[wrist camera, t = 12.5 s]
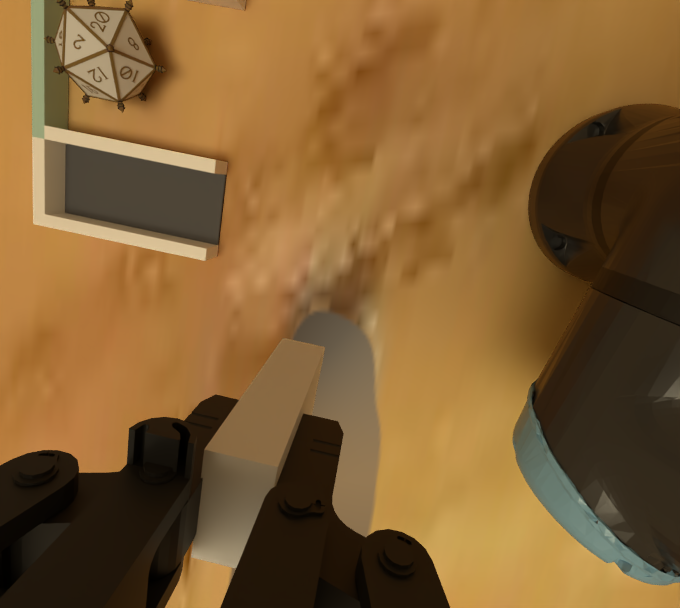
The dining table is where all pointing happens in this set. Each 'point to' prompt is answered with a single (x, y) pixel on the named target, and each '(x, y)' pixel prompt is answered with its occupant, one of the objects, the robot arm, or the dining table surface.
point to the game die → (103, 52)
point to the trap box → (55, 135)
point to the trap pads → (144, 194)
